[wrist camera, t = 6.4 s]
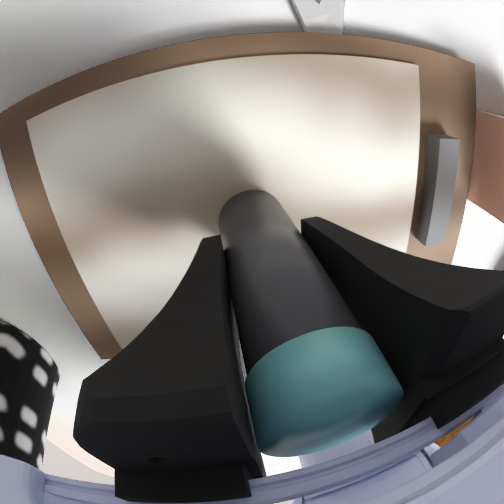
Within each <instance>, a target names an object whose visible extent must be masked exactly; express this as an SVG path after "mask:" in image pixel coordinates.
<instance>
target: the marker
mask: <svg viewBox="0 0 504 504" xmlns="http://www.w3.org/2000/svg"><path fill="white" fill-rule="evenodd" d="M218 224H219V231H220V234H221V239H222V244H223V249H224V254H225V259H226V265H227V273H228V281H229V287H230V292H231V298H232V303H233V308H234V313H235V319H236V324H237V329H238V334H239V339H240V344H241V349H242V354H243V359H244V363H245V368H246V373H247V378H246V381H245V391H246V396H247V401H248V406H249V410H250V415H251V420H252V425H253V429H254V434H255V438H256V443H257V447H258V449H259V451H260V452H262V453H264V454H266V455H270V456H276V457H291V456H300V455H306V454H311V453H315V452H319V451H323V450H326V449H329V448H332V447H335V446H338V445H340V444H343V443H345V442H347V441H350V440H352V439H354V438H356V437H358V436H360V435H361V434H363V433H365V432H367V431H368V430H370V429H372V428H373V427H375V426H376V425H377V424H379V423H380V422H382V421H383V420H384V419H385V418H386V417H388V416H389V415H390V414H391V413H392V412H393V411H394V410H395V409H396V407H397V406H398V405H399V403H400V402H401V400H402V398H403V395H404V391H403V389H402V387H401V385H400V383H399V382H398V380H397V378H396V376H395V375H394V373H393V371H392V369H391V368H390V366H389V364H388V363H387V361H386V359H385V358H384V356H383V354H382V352H381V351H380V349H379V347H378V346H377V344H376V342H375V341H374V339H373V338H372V336H371V335H370V334H369V333H367V332H366V331H364V330H362V328H361V327H360V325H359V323H358V322H357V320H356V319H355V317H354V315H353V314H352V312H351V310H350V309H349V307H348V306H347V304H346V302H345V301H344V299H343V298H342V296H341V294H340V293H339V291H338V290H337V288H336V286H335V285H334V283H333V282H332V280H331V279H330V277H329V275H328V274H327V272H326V271H325V269H324V268H323V266H322V265H321V263H320V262H319V260H318V259H317V257H316V256H315V254H314V252H313V251H312V249H311V248H310V246H309V245H308V243H307V242H306V240H305V239H304V237H303V236H302V235H301V233H300V232H299V230H298V229H297V227H296V226H295V224H294V223H293V221H292V220H291V218H290V217H289V215H288V214H287V213H286V211H285V210H284V208H283V207H282V205H281V204H280V203H279V201H278V200H277V199H276V198H275V197H274V196H273V195H271V194H269V193H267V192H264V191H260V190H247V191H243V192H241V193H238V194H236V195H234V196H233V197H232V198H230V199H229V200H228V201H227V202H226V203H225V205H224V206H223V208H222V210H221V212H220V215H219V223H218Z"/></svg>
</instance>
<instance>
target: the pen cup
mask: <svg viewBox="0 0 504 504" xmlns="http://www.w3.org/2000/svg"><path fill="white" fill-rule="evenodd" d="M467 199H468V200H470V201H471V202H473V203H474V204H476V205H478V206H479V207H481V208H482V209H484V210H485V211H487V212H488V213H490V214H491V215H493V216H494V217H496V218H497V219H498V220H500V221H501V222H503V223H504V116H501V115H496V114H492V113H488V112H483V111H479V110H476V126H475V141H474V153H473V162H472V170H471V177H470V184H469V190H468V196H467Z"/></svg>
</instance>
